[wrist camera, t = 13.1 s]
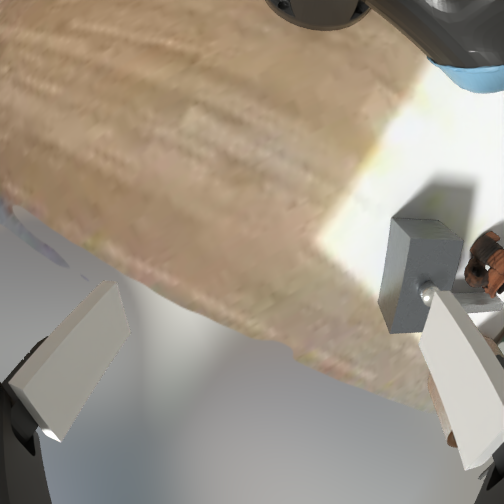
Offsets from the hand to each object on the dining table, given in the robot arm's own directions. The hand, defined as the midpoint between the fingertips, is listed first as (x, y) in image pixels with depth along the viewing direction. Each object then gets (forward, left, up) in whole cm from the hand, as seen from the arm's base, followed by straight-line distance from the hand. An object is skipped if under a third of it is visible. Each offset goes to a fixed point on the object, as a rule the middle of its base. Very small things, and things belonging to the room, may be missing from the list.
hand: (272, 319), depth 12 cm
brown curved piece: (+11, +34, -31) cm, 47 cm away
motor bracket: (+12, +27, -31) cm, 43 cm away
